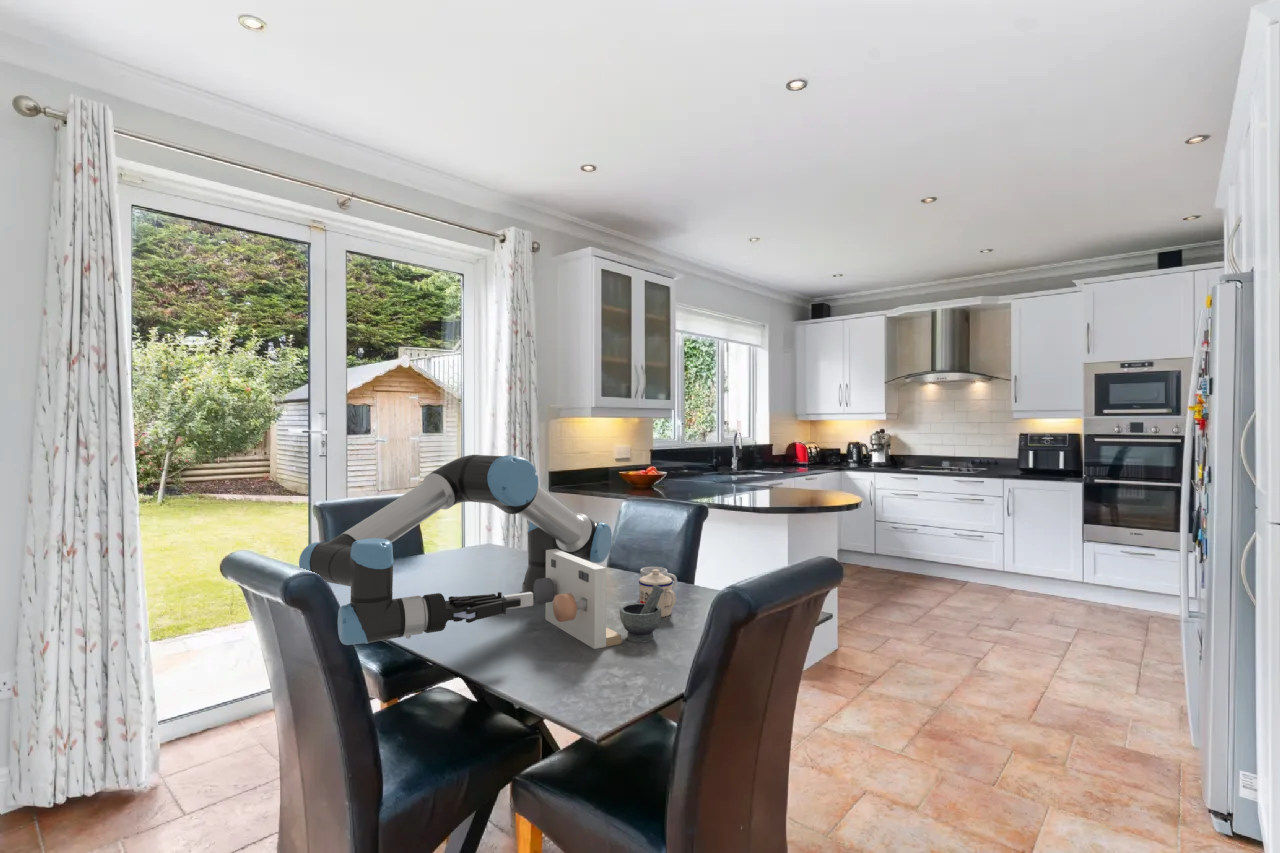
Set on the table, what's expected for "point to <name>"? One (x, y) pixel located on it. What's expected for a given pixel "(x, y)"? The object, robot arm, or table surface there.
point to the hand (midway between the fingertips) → (531, 598)
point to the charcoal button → (544, 590)
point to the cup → (663, 571)
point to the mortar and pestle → (642, 617)
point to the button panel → (581, 598)
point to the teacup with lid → (666, 597)
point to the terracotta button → (567, 607)
